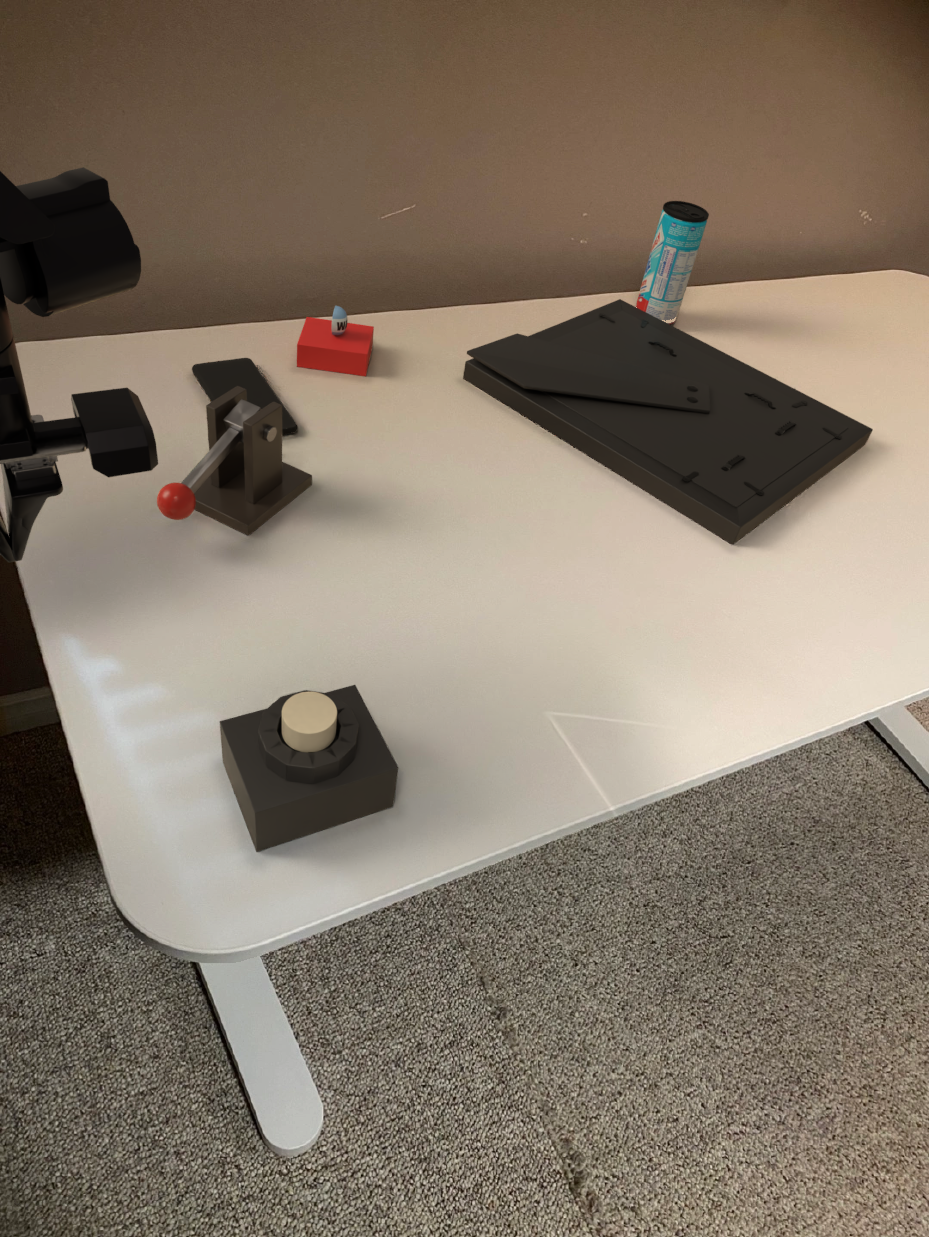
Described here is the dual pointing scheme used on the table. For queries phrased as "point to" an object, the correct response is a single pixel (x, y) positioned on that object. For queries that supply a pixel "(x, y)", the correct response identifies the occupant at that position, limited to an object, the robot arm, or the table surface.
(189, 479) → the power switch
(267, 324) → the table surface
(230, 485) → the switch bracket
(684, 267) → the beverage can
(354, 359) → the red low topped box
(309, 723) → the stop button
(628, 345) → the picture frame
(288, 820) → the block
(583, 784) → the table surface
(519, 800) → the table surface
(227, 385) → the smartphone
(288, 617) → the table surface
